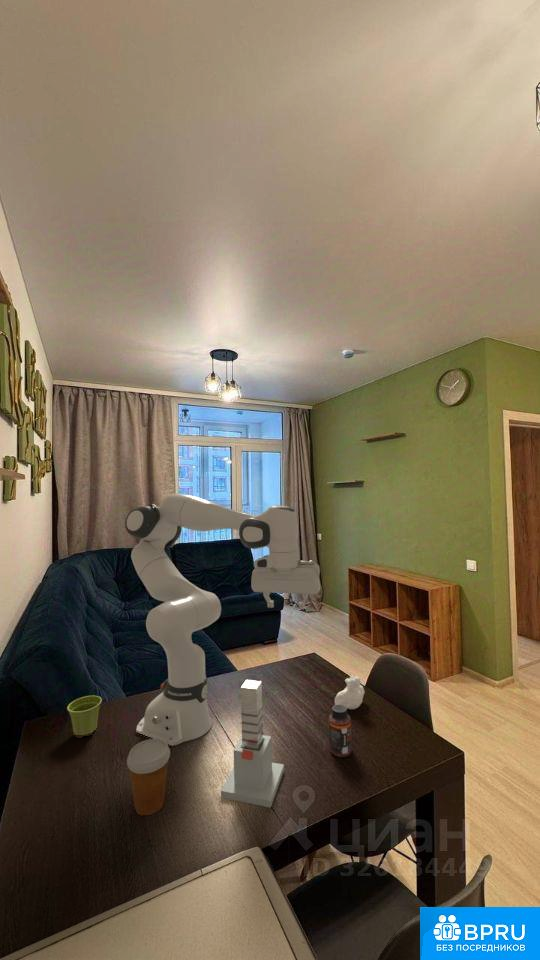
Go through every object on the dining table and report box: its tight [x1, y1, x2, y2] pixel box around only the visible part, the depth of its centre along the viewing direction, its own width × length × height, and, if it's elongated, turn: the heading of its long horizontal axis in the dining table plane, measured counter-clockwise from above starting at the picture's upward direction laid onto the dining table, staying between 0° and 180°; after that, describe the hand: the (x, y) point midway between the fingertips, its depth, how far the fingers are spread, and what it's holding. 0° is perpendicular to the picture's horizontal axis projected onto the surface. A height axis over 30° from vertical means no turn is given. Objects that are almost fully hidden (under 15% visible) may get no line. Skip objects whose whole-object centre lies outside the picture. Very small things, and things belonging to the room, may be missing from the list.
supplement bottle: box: [328, 704, 353, 758], centre depth 105 cm, size 6×6×11 cm
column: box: [240, 679, 264, 751], centre depth 94 cm, size 4×4×16 cm
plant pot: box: [66, 695, 103, 735], centre depth 116 cm, size 9×9×9 cm
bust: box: [334, 674, 365, 710], centre depth 126 cm, size 12×8×11 cm
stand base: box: [220, 734, 285, 808], centre depth 94 cm, size 12×12×10 cm
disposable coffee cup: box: [126, 738, 171, 816], centre depth 88 cm, size 10×10×12 cm
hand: (286, 608), depth 113 cm, fingers open, 8 cm apart
